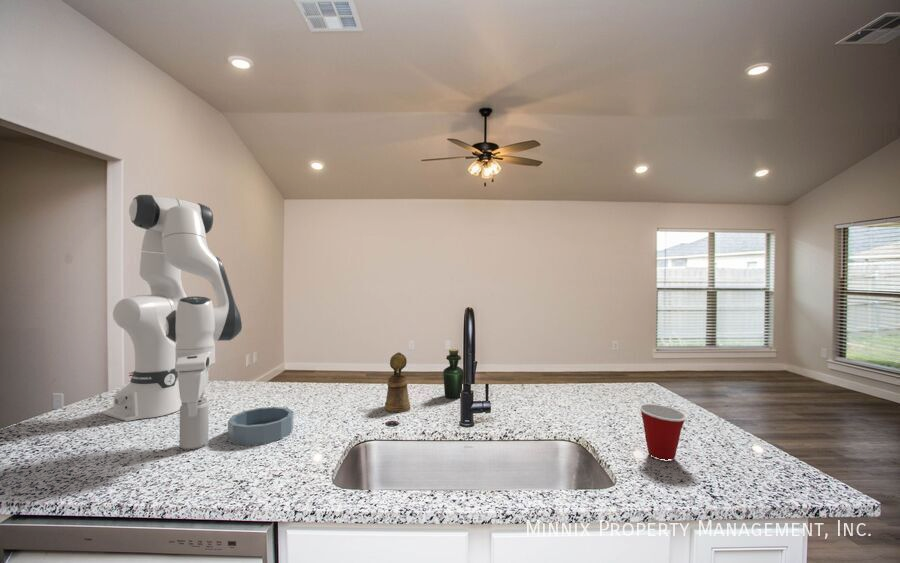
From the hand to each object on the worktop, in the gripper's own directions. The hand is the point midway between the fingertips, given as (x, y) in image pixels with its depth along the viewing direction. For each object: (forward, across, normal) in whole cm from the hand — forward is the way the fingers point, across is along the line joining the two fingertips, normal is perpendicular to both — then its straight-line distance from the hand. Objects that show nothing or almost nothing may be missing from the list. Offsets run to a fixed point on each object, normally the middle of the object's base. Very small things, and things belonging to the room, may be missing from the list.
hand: (196, 410), depth 103 cm
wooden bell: (+10, -10, +59) cm, 61 cm away
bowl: (+10, -2, +16) cm, 19 cm away
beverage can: (+10, 0, -1) cm, 10 cm away
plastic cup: (+12, +56, +108) cm, 122 cm away
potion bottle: (+11, -13, +82) cm, 84 cm away
